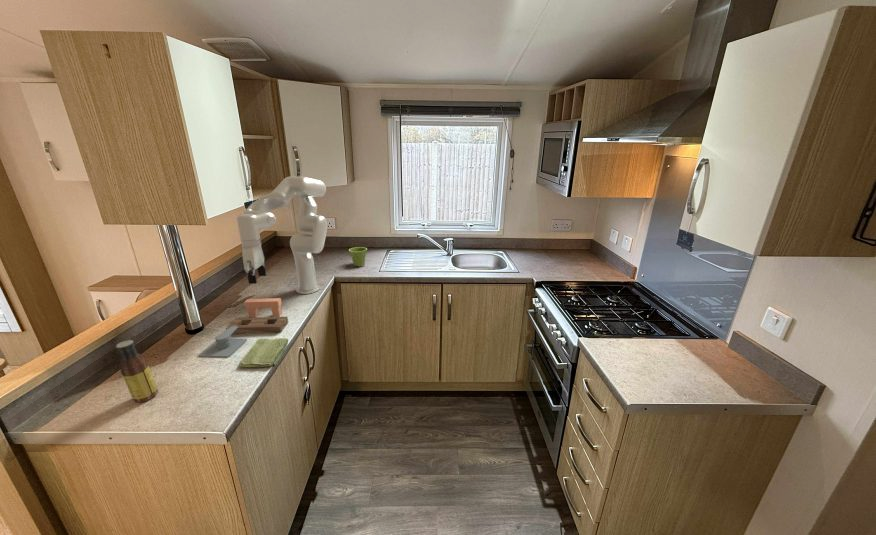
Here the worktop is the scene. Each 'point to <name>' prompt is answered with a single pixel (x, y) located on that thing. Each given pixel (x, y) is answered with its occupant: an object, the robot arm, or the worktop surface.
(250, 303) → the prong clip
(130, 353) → the sauce bottle
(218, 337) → the shower valve
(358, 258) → the plant pot
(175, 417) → the worktop surface
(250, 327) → the slotted rail
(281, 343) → the washcloth
